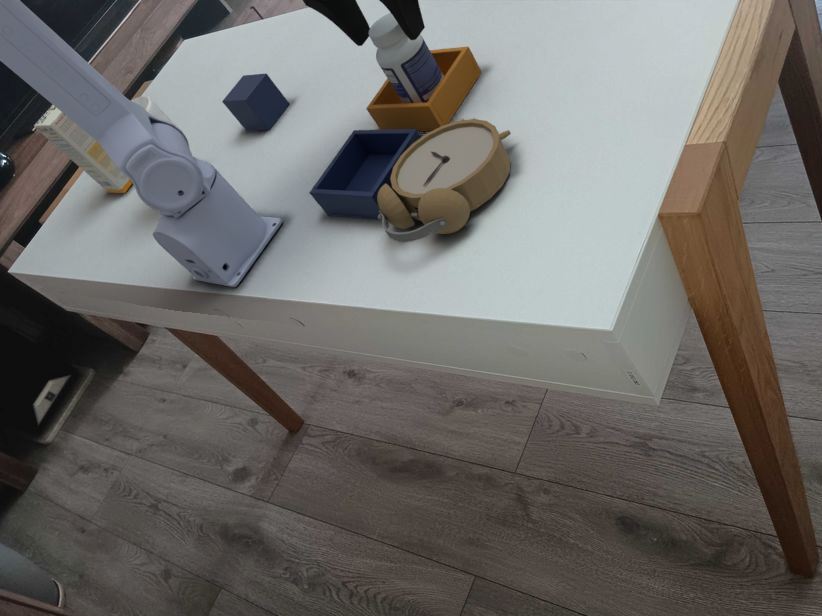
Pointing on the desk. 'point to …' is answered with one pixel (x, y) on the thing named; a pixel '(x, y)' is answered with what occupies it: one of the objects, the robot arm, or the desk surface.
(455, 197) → the alarm clock
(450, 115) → the amber bin
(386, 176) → the navy bin
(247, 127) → the navy block
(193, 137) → the desk surface
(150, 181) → the robot arm
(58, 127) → the supplement box
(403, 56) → the pill bottle
